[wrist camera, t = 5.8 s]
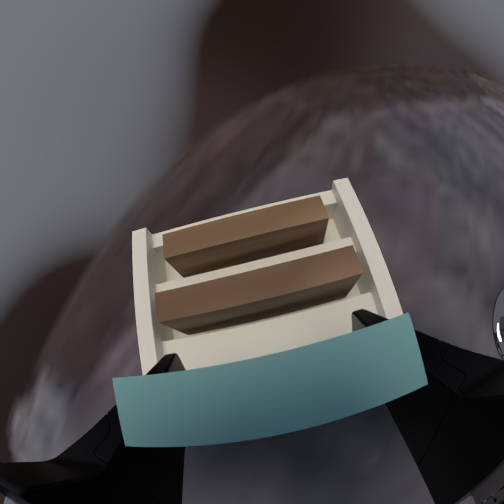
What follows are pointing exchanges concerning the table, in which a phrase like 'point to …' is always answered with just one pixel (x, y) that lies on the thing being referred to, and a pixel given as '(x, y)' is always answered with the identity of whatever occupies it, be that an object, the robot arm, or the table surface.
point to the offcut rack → (275, 328)
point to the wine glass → (499, 323)
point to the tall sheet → (272, 390)
